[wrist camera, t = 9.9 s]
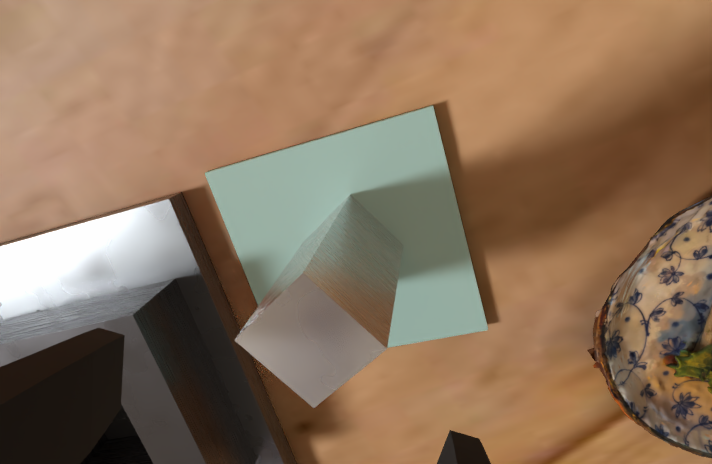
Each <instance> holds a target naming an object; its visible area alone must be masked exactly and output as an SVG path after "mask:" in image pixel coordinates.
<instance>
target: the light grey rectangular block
mask: <svg viewBox="0 0 712 464" xmlns="http://www.w3.org/2000/svg"><path fill="white" fill-rule="evenodd" d="M402 251H403V244H402V243H401V242H400V241H399V240H398V239H397V238H396V237H395V236H394V235H393V234H392V233H391V232H390V231H389V230H388V229H387V228H386V227H384V226H383V225H382V224H381V223H380V222H379V221H378V220H377V219H376V218H375V217H374V216H373V215H372V214H371V213H370V212H369V211H368V210H367V209H366V208H364V207H363V206H362V205H361V204H360V203H359V202H358V201H357V200H356V199H355V198H354V197H353V196H352V195H351V194H350V195H349V196H348V197H347V198H346V199H345V200H344V201H343V202H342V203H341V204H340V205H339V206H338V207H337V208H336V209H335V210H334V211H333V212H332V213H331V214H330V215H329V216H328V217H327V218H326V219H325V221H324V222H323V223H322V224H321V225H320V226H319V227H318V228H317V229H316V230H315V231H314V232H313V233H312V234H311V235H310V236H309V237H308V238H307V239H306V240H305V241H304V242H303V243H302V244H301V246H300V247H299V249H298V250H297V252H296V253H295V254H294V256H293V257H292V259H291V260H290V262H289V263H288V264H287V266H286V267H285V269H284V270H283V271H282V273H281V274H280V276H279V277H278V279H277V280H276V281H275V283H274V284H273V286H272V287H271V289H270V290H269V291H268V293H267V294H266V296H265V297H264V298H263V300H262V301H261V303H260V304H259V306H258V307H257V308H256V310H255V311H254V313H253V314H252V316H251V317H250V318H249V320H248V321H247V323H246V324H245V326H244V327H243V328H242V330H241V331H240V333H239V334H238V335H237V337H236V338H235V341H236V342H237V343H238V344H239V345H240V346H242V347H243V348H244V349H245V350H246V351H247V352H249V353H250V354H251V355H252V356H253V357H254V358H256V359H257V360H258V361H259V362H260V363H262V364H263V365H264V366H265V367H266V368H267V369H269V370H270V371H271V372H272V373H273V374H274V375H276V376H277V377H278V378H279V379H280V380H281V381H283V382H284V383H285V384H286V385H287V386H288V387H290V388H291V389H292V390H293V391H294V392H295V393H297V394H298V395H299V396H300V397H301V398H302V399H304V400H305V401H306V402H307V403H308V404H309V405H311V406H312V407H313V408H315V407H316V406H317V405H318V404H320V403H321V402H322V401H323V400H325V399H326V398H327V397H328V396H330V395H331V394H332V393H333V392H334V391H336V390H337V389H338V388H339V387H341V386H342V385H343V384H344V383H346V382H347V381H348V380H349V379H350V378H352V377H353V376H354V375H355V374H357V373H358V372H359V371H360V370H362V369H363V368H364V367H365V366H366V365H368V364H369V363H370V362H371V361H373V360H374V359H375V358H376V357H378V356H379V355H380V354H381V353H382V352H384V351H385V350H386V349H387V346H388V340H389V333H390V327H391V321H392V314H393V308H394V302H395V295H396V289H397V283H398V276H399V270H400V264H401V257H402Z"/></svg>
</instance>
